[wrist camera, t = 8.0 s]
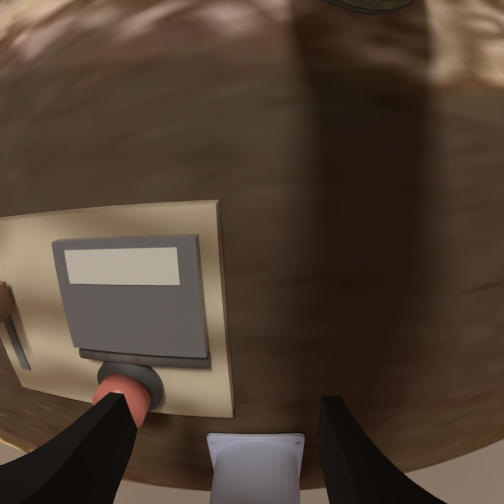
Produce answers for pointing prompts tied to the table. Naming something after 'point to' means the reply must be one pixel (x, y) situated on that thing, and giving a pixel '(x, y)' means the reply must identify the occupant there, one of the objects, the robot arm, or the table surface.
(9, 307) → the slider knob
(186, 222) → the control panel
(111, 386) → the push button
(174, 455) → the table surface
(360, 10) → the thermos
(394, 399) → the table surface
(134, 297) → the paddle switch
